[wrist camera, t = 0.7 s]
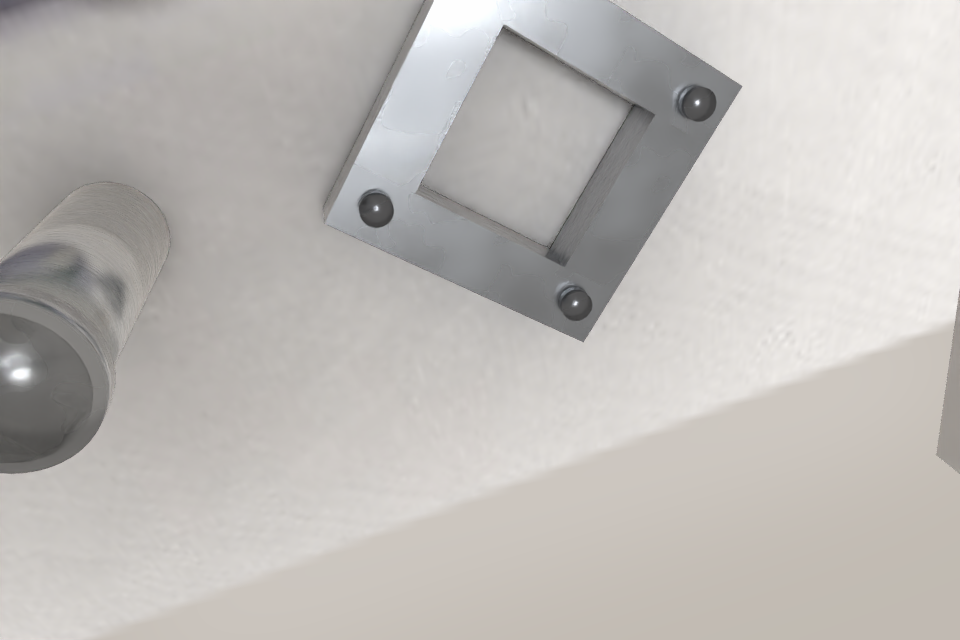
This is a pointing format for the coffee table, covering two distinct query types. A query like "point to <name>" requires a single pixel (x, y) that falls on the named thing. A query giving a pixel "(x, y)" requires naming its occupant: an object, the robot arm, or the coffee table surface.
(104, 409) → the grey cylinder
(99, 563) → the coffee table surface
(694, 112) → the socket
